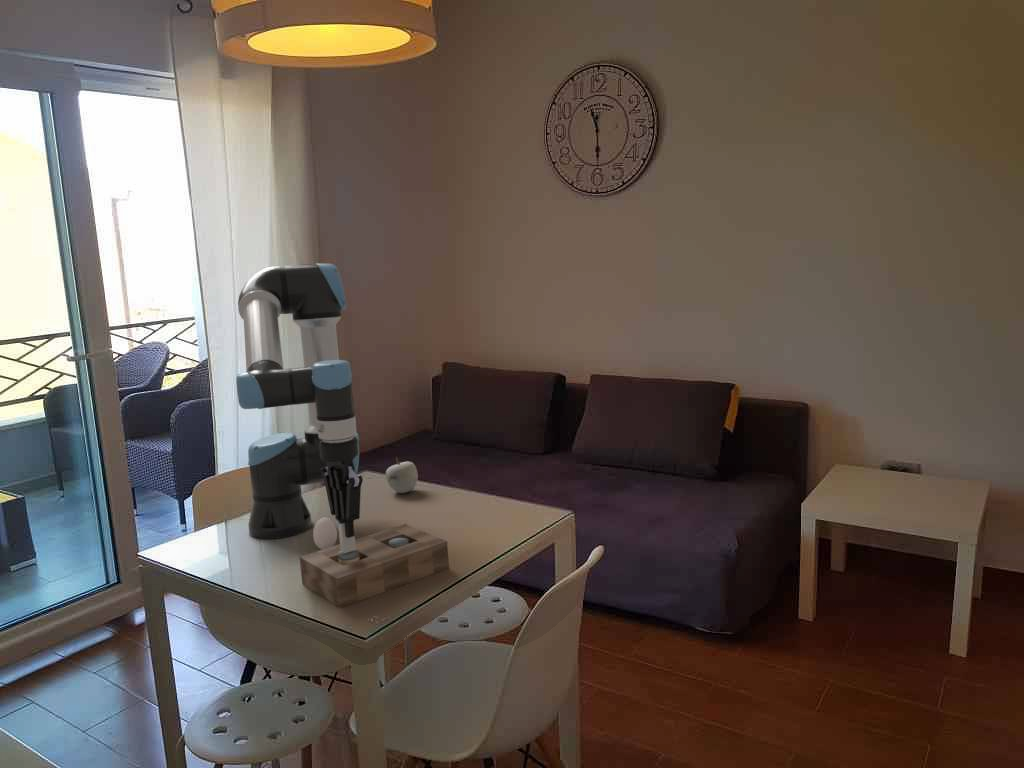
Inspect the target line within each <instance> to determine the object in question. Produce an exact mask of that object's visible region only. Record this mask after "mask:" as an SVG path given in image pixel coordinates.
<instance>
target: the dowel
mask: <svg viewBox="0 0 1024 768" xmlns="http://www.w3.org/2000/svg"><path fill="white" fill-rule="evenodd" d="M338 559H339V564H341V565H346V564H349V563H352V562H355V561H358V560H360V558H359V550H358V549H357V548H356V550H354V551H351V552H348V553H345V554H344V553H342V552H341V550H340V551H339V552H338Z"/></svg>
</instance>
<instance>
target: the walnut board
mask: <svg viewBox="0 0 1024 768" xmlns="http://www.w3.org/2000/svg"><path fill="white" fill-rule="evenodd" d="M395 538H406V539H408V541H409V544H407V545H403V546H400V547H397V548H392V547H390V546H389V541H390V540H392V539H395ZM355 544H356V548H357V549H358V550H359V558H360V560H358V561H355V562H352V563H349V564H346V565H341V564H339V559H338V552H339V551H340V543H339V544H335V545H334V546H333V547H330V548H327V549H323V550H322V549H319V550H317V551H314V552H310V553H308V554H304V555H301V556H299V564H300V574H301V583H302V585H303V586H305V587H306V588H308V589H309V590H311V591H313V592H314V593H316V594H317V595H319V596H321V597H322V598H323V599H326V600H327V601H329V602H330V603H331V604H333V605H335V606H337V608H339V609H341V608H344V607H346V606H349V605H351V604H355V603H357V602H360V601H363V600H366V599H368V598H371V597H374V596H376V595H378V594H382V593H384V592H388V591H389V590H392V589H395V588H396V589H397V588H399V587H401V586H404V585H406V584H409V583H412V582H414V581H417V580H420V579H423V578H425V577H428V576H431V575H434V574H437V573H439V572H442V571H445V570H447V569H450V563H449V547H448V541H447V540H445V539H442V538H440V537H438V536H435V535H433V534H431V533H428V532H426V531H423V530H421V529H419V528H416V527H413V526H412V525H409V524H407V523H404V524H401V525H397V526H394V527H391V528H388V529H385V530H382V531H381V530H380V531H378V532H375V533H372V534H369V535H365V536H363V537H359V538H355Z"/></svg>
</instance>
